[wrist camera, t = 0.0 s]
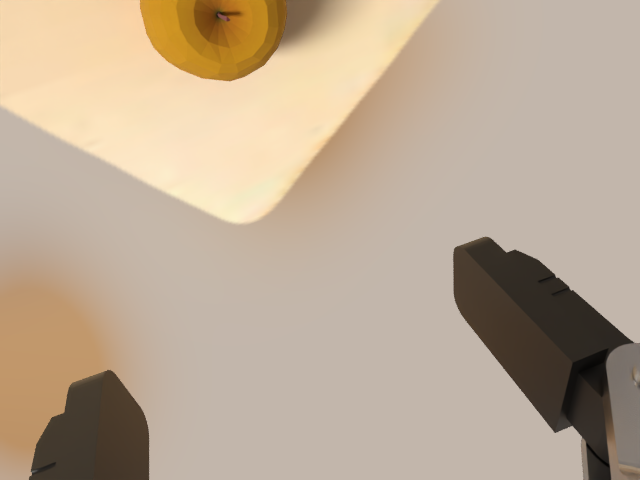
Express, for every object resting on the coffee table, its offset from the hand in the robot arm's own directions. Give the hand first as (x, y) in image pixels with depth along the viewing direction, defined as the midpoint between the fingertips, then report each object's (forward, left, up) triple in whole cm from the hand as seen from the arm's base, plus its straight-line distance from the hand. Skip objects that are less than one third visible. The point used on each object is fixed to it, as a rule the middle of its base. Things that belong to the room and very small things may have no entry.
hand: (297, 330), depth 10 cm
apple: (-3, +2, -30) cm, 30 cm away
